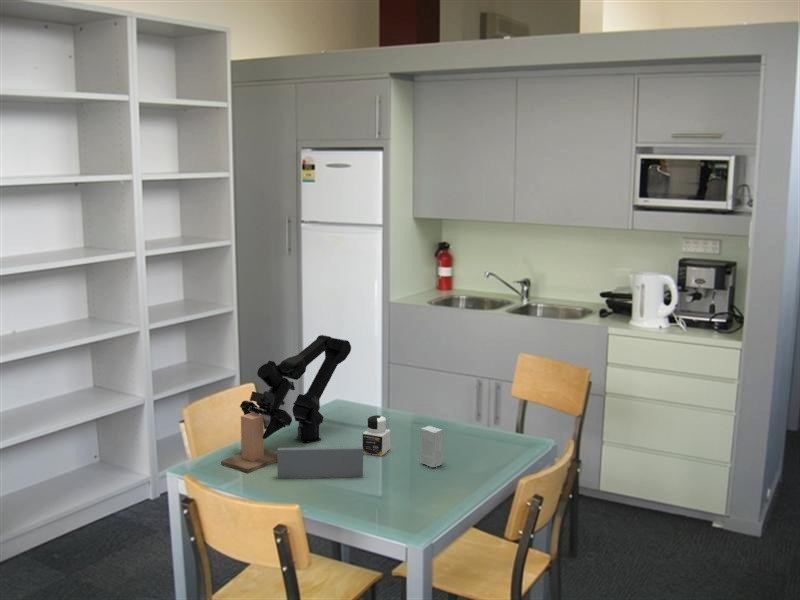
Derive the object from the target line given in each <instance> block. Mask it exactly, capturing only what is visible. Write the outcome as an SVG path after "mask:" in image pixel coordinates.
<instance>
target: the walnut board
mask: <svg viewBox="0 0 800 600" xmlns="http://www.w3.org/2000/svg"><path fill="white" fill-rule="evenodd" d="M276 462H277V452H274V451H271V450H269V449H266V448H264V457H263V458H261V459H258V460H256V461H253V462H252V461H249V460H246V459H243V458H242V457H241V453H238V454H236V455H233V456H230V457H227V458H225V459H222V460H221V461H220V465H221V464H223V465H222V466H224V465H226V466H225V467H228V466H229V467H228V468H231V467H232V468H231V469H235V470H237V471H240V472H243V473H246V474H249V473H252V472H254V471H257V470H260V469H262V468H265V467H267V466H269V465H271V464H274V463H276Z"/></svg>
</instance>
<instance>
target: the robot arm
mask: <svg viewBox="0 0 800 600" xmlns="http://www.w3.org/2000/svg"><path fill="white" fill-rule="evenodd" d="M351 351H352V345H351V342H350V341H349V340H347V339H341V338H337V337H332V336H328V335H325V334H322V335H318V336H317V337H316V339H315V340H314V341H312V342H311V343H310V344H309V345H308V346H307V347H305V348H304V349H303V350H302V351H300V352H299V353H298V354H296V355H293V356H289V357H287V358H286V359H283V360H282V361H281V362H280V363H279V364H276V362H275V361H273V360H268V361H267V362H266V363H264V364H262V365H260V366H259V368H258V369H257V374H256V375H257V376H258V378H259V379H260V380H261V381H262V382H263V383H264V384H265V385H266V386H267V387H269V389H268V390H267V391H264V392H263V393H261V392H257V391H251V394H250V397H249V400H246V399H245V400H242V402H241V404H240V405H239V408H241V411H242V412H243V415H246V414H249V413H252V412H253V413H257V414H260V415H263V416H265V417H269V424H268V425H267V426H266V429H265V430H264V435H263V437H262V438H263V439H264V440H266V439H267V438H269V437H271V436H272V435H273V434H275V433H276V432H278V431H279V430H281V429H282V428H286V426H287V427H290V426H291V424H292V422H293V417H294V420H295V422H298V426H297V436H296V438H297V439H298V440H299V441H301V442H302V443H304V444H305V443H306V444H307V443H312V442H316V441H321V440H322V438H321V437H320V425H321V424H322V423H323V422H324V416H323V414H322V413H321V412H320V408H321V407H320V406H321V403H320V399H321V397H322V395H323V394H324V391H325V389H326V388H327V386H328V384H329V382H330V380H331V378H332V376H333V375H334V372H335V370H336V369H337V367H338V365H339V364H341V363H342V362H344V361H345V360H346V359H347V358H348V356H349V355H350V353H351ZM323 353H324V356H325V357H324V360H323V361H322V363H321V365H320V367H319V368H318V370H317V373H316V374H315V375H314V376H315V377H314V379H313V380H312V382H311V384H310V386H309V388H308V389H307V391H306V393H304V394H300V393H299V394H298V395H297V397H296V400H295V401H294V402H293V403H292V404H293V406H292V410H291V411H292V415H293V417H292V416H291V415H290V414H289V413H288V412H287V411H286V410H284V409H280V406H284V405H285V401H284V400H285V398H286V396H287V395H288V393H289V391H290V390H291V391H295V390H296V388H295V384H294V383H295V382H294V381H290V380H289V379H292V380H295V381H297V380H299V379H300V378H301V377H302V376H303V375H304V374H305V373H306V371H307V367H308V365H310V364H311V363H313V361H314V360H315V359H317V358H318V357H320V356H321V354H323ZM255 403H256V404H255Z"/></svg>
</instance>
